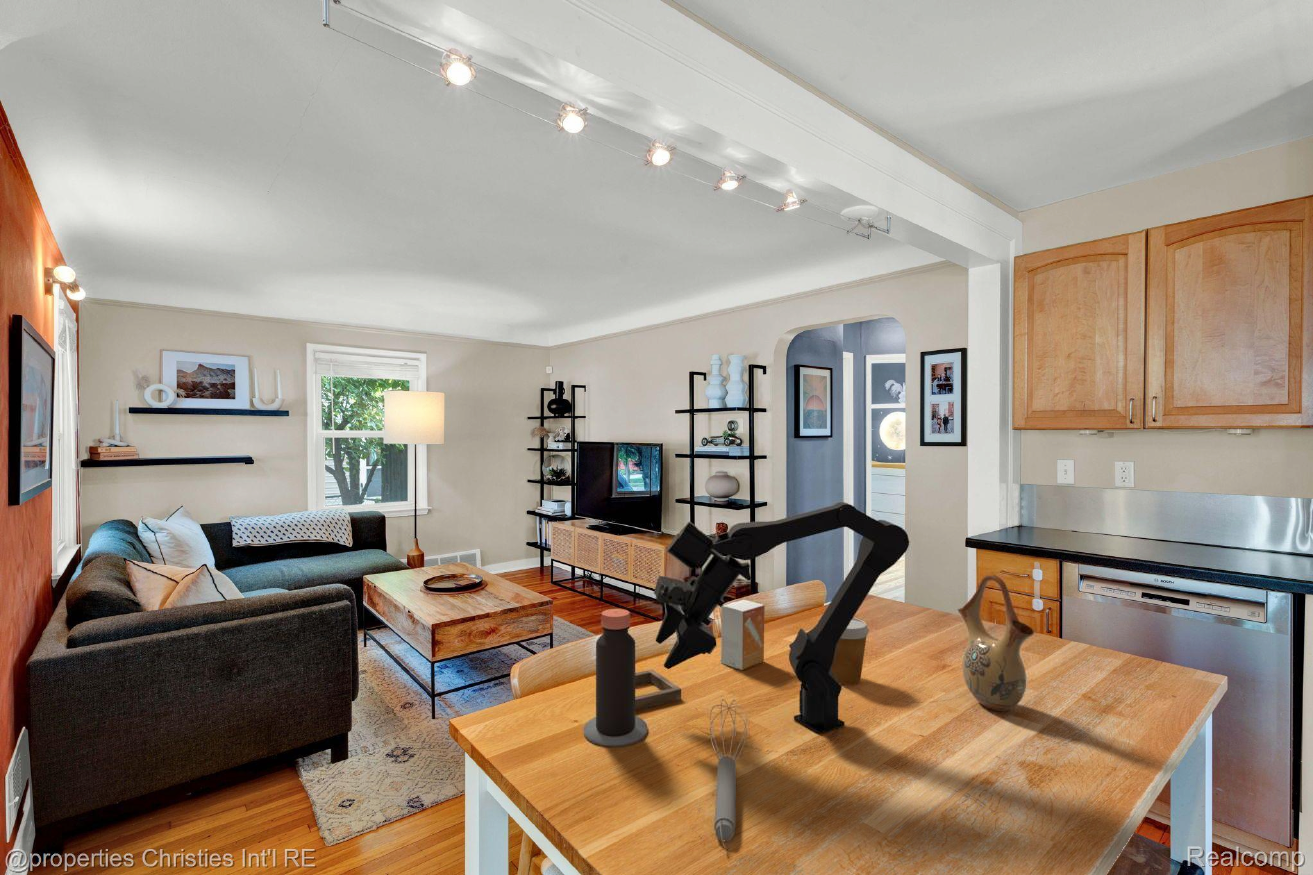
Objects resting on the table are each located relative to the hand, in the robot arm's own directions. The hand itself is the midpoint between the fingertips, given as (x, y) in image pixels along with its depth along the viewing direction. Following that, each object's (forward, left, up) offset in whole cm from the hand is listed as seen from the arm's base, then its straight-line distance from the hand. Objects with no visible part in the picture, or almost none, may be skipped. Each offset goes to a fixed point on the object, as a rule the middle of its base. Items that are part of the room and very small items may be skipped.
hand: (661, 654), depth 112 cm
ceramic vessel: (-26, -58, -12) cm, 65 cm away
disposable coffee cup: (-3, -43, -12) cm, 45 cm away
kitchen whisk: (-21, 0, -12) cm, 24 cm away
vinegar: (0, +9, -11) cm, 15 cm away
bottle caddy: (+11, -2, -12) cm, 16 cm away
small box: (+15, -30, -12) cm, 36 cm away
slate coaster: (0, +9, -12) cm, 15 cm away
